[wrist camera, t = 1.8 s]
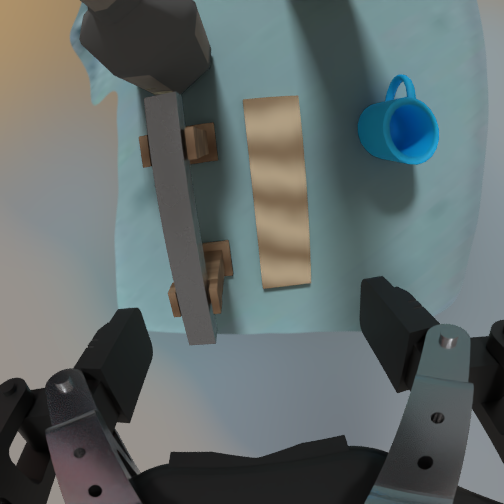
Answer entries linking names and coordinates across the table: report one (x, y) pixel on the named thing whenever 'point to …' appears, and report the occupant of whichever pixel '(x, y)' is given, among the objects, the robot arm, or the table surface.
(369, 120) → the mug
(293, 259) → the mat
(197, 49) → the liquor
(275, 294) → the table surface
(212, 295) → the post
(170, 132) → the rail
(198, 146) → the post
